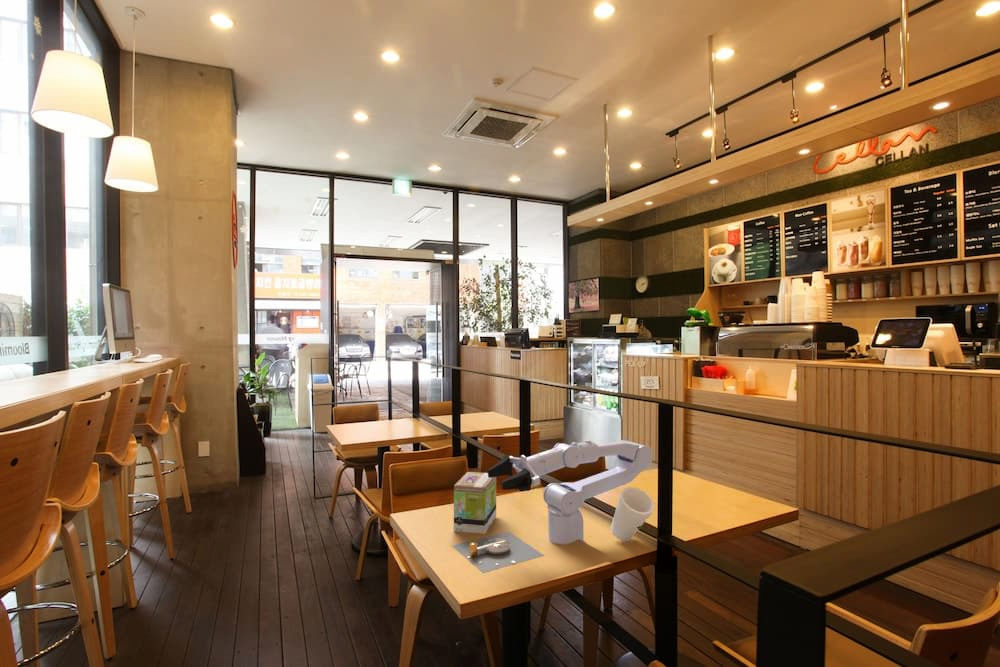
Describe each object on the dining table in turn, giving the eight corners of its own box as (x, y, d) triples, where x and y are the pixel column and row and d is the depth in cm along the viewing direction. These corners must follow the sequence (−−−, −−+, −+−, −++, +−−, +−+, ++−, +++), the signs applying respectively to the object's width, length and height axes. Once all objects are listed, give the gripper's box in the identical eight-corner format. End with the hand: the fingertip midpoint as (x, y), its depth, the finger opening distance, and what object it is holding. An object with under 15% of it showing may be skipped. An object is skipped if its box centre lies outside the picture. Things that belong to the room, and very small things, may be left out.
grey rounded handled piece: (501, 541, 141) (501, 530, 141) (515, 551, 135) (515, 539, 135) (464, 551, 136) (463, 539, 135) (476, 561, 129) (476, 549, 129)
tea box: (486, 538, 147) (485, 486, 147) (452, 535, 150) (452, 485, 149) (497, 518, 162) (496, 472, 162) (466, 516, 164) (465, 470, 164)
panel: (508, 535, 149) (508, 530, 149) (544, 559, 133) (544, 554, 133) (452, 549, 140) (451, 544, 140) (483, 577, 124) (483, 571, 124)
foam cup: (634, 521, 150) (650, 490, 144) (641, 548, 142) (658, 516, 136) (603, 515, 149) (617, 484, 143) (608, 542, 141) (623, 510, 135)
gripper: (524, 441, 145) (481, 455, 139) (553, 461, 133) (507, 477, 126) (525, 464, 147) (483, 478, 141) (554, 486, 134) (509, 503, 128)
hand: (495, 479), depth 134 cm, fingers open, 7 cm apart
